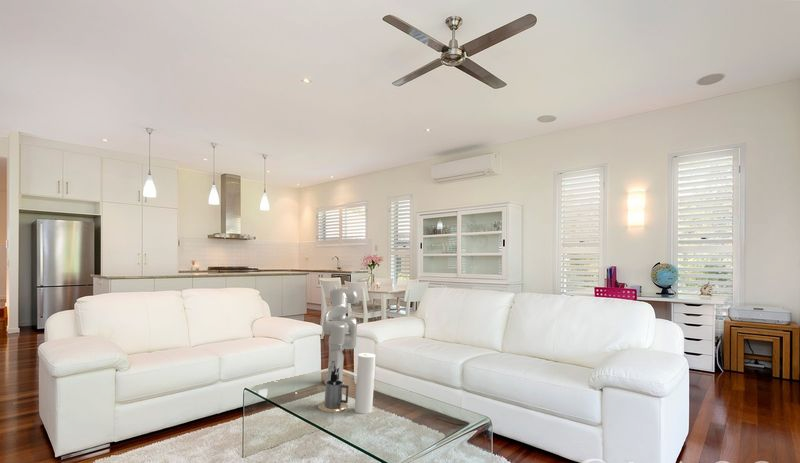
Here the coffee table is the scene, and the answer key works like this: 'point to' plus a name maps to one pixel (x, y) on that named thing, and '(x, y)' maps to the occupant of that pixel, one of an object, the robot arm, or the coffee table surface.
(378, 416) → the coffee table surface
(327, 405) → the press carafe
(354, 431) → the coffee table surface
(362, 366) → the cylinder container
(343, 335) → the robot arm
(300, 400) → the coffee table surface
